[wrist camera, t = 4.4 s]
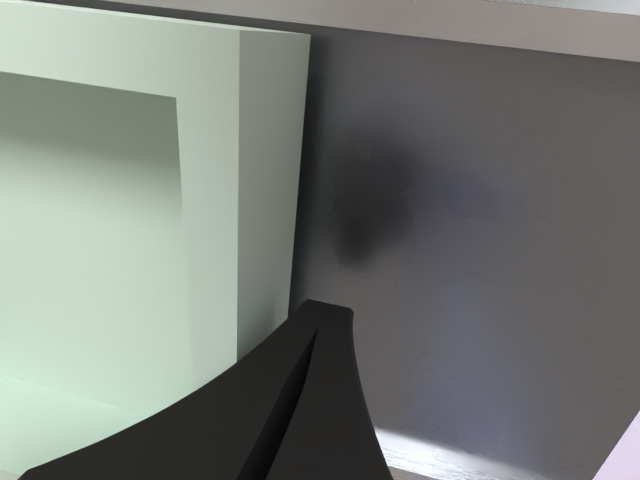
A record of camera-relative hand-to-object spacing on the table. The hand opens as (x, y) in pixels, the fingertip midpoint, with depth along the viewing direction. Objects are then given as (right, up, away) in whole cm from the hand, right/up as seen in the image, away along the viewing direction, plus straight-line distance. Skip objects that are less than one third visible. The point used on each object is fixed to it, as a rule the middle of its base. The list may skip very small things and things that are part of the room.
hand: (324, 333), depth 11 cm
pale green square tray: (-8, +3, +4) cm, 9 cm away
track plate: (-3, +2, +3) cm, 5 cm away
